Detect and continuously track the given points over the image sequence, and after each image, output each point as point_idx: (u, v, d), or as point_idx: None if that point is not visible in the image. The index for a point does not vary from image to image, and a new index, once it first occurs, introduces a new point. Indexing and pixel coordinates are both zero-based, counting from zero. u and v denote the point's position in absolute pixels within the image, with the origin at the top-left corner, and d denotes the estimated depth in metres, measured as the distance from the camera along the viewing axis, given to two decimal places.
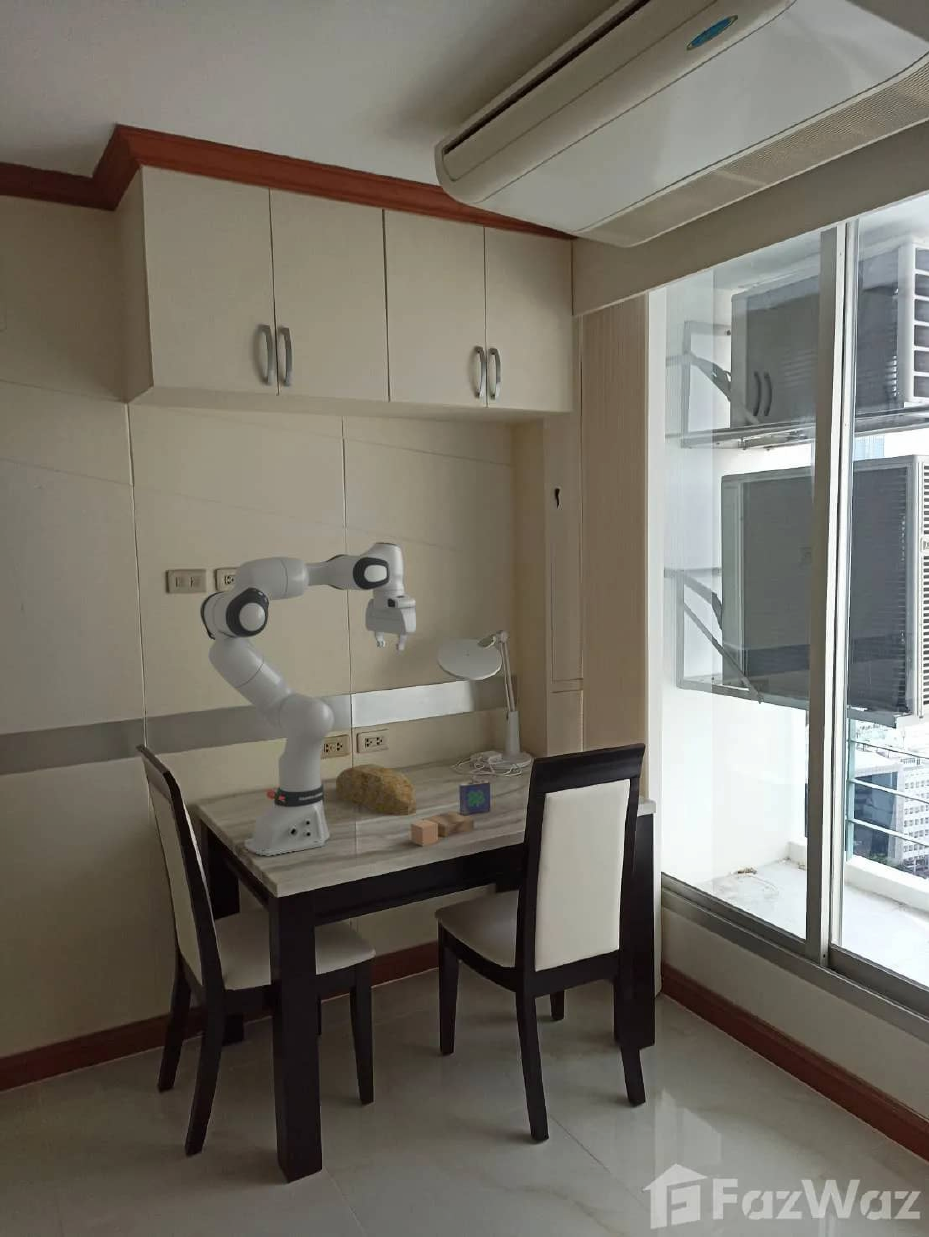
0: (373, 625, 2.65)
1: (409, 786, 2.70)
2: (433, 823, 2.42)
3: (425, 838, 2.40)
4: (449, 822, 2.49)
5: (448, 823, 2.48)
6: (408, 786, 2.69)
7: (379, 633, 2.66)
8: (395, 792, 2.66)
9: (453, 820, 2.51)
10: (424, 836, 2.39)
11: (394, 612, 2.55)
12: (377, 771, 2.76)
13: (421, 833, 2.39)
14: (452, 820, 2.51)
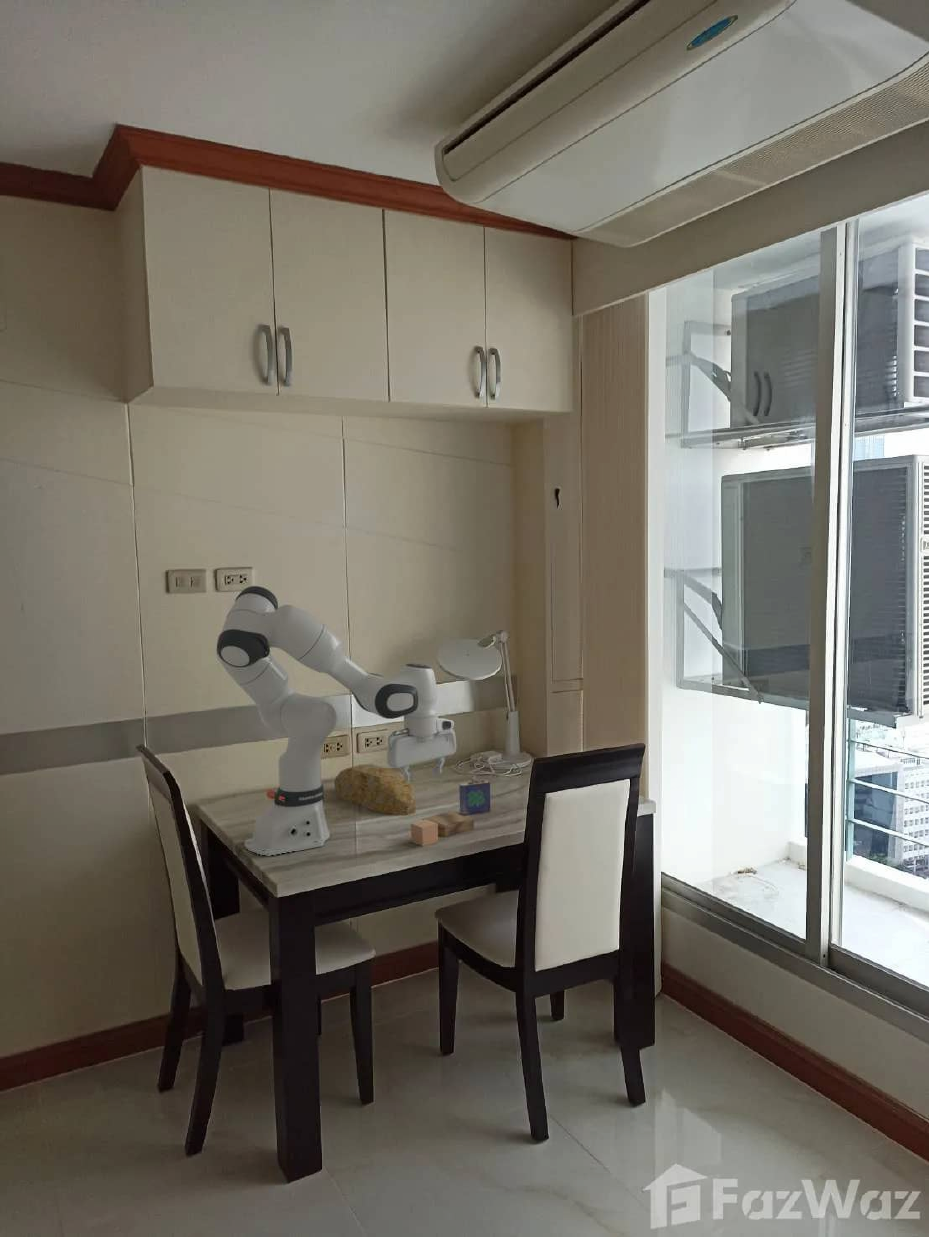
0: (408, 758, 2.35)
1: (408, 786, 2.70)
2: (433, 823, 2.42)
3: (425, 838, 2.40)
4: (449, 822, 2.49)
5: (448, 823, 2.48)
6: (407, 786, 2.70)
7: None
8: (394, 792, 2.66)
9: (453, 820, 2.51)
10: (423, 836, 2.39)
11: (446, 733, 2.42)
12: (376, 771, 2.76)
13: (421, 833, 2.39)
14: (452, 820, 2.51)
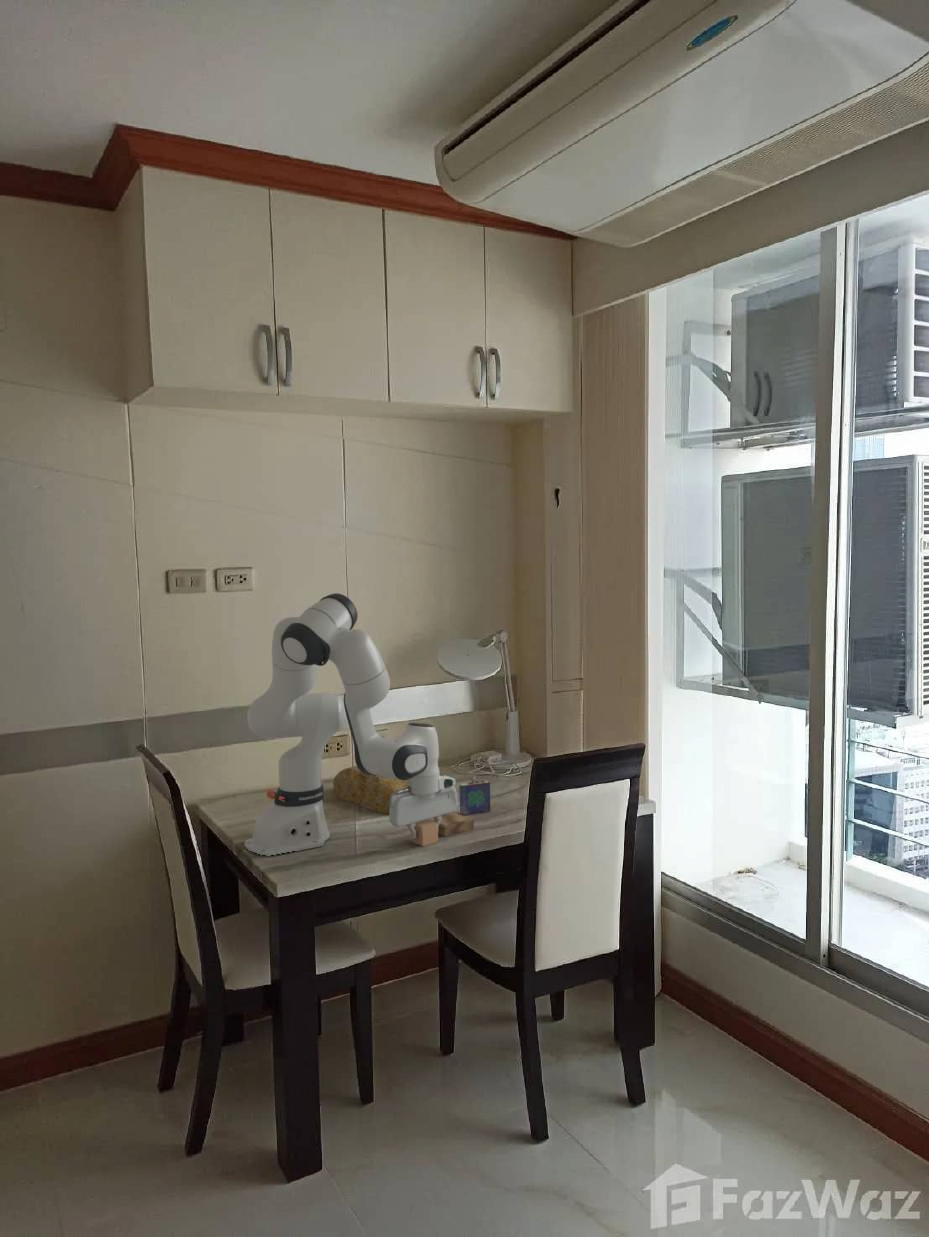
0: (410, 817, 2.37)
1: None
2: (433, 823, 2.42)
3: (425, 837, 2.40)
4: (449, 822, 2.49)
5: (448, 823, 2.48)
6: None
7: None
8: None
9: (453, 820, 2.51)
10: (424, 836, 2.39)
11: (447, 791, 2.44)
12: None
13: (421, 833, 2.39)
14: (452, 820, 2.51)
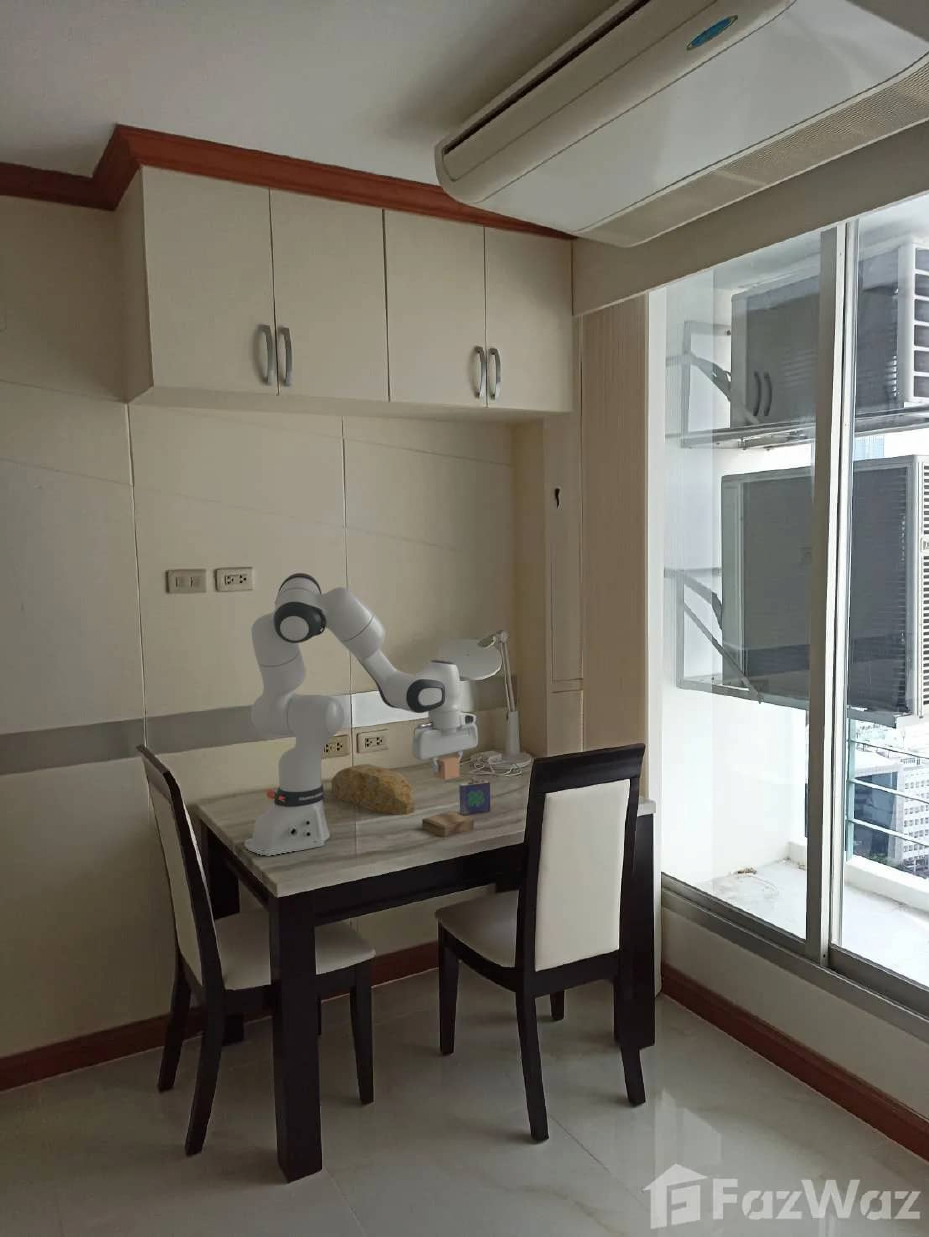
0: (433, 751, 2.45)
1: (407, 786, 2.70)
2: (454, 758, 2.50)
3: (447, 772, 2.48)
4: (449, 822, 2.49)
5: (448, 823, 2.48)
6: (406, 785, 2.70)
7: None
8: (394, 792, 2.66)
9: (453, 820, 2.51)
10: (446, 770, 2.48)
11: (468, 727, 2.52)
12: (374, 771, 2.77)
13: (443, 767, 2.48)
14: (452, 820, 2.51)
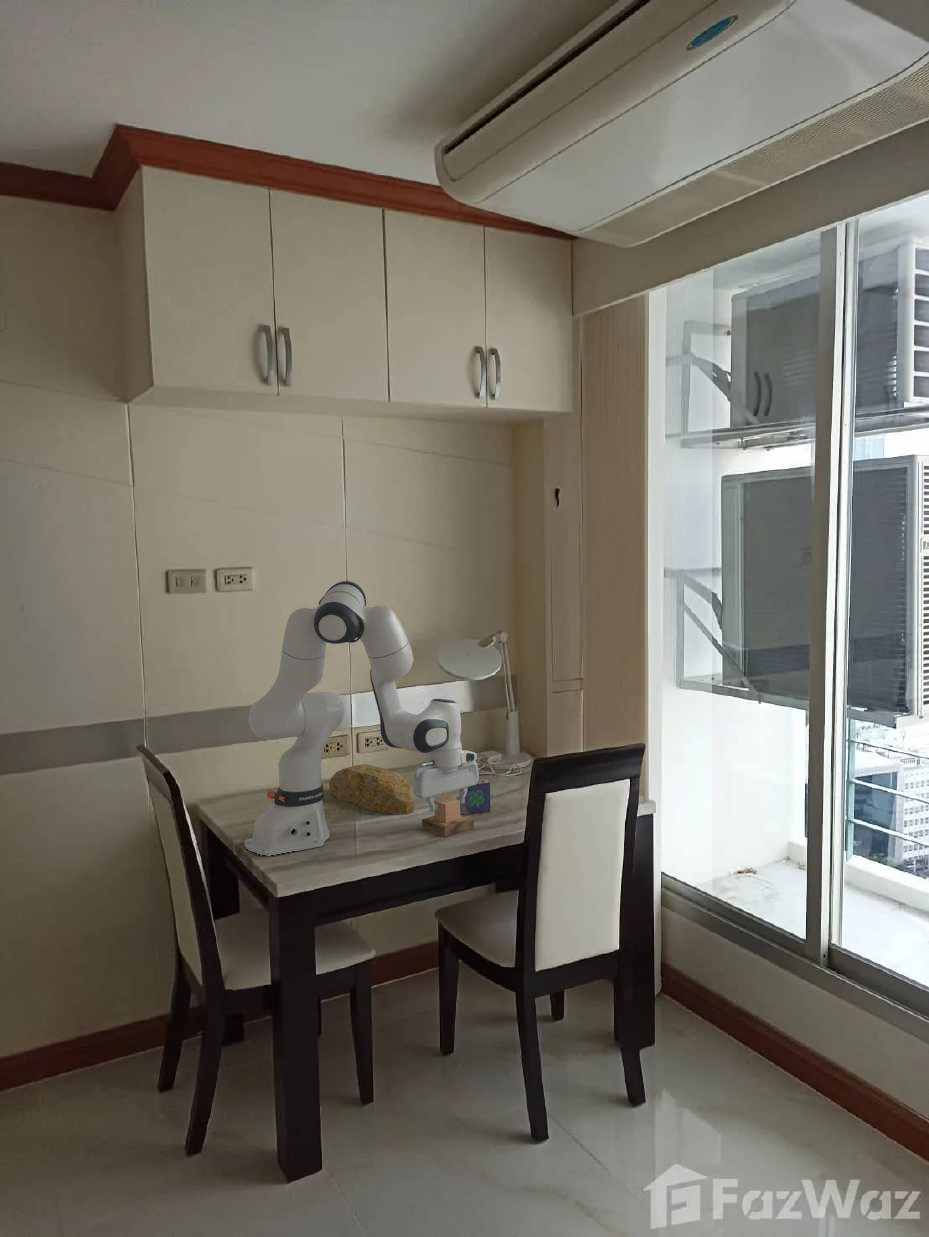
0: (434, 789, 2.47)
1: (407, 785, 2.70)
2: (455, 800, 2.52)
3: (448, 814, 2.49)
4: (449, 822, 2.49)
5: (448, 823, 2.48)
6: (406, 785, 2.70)
7: None
8: (393, 792, 2.66)
9: None
10: (447, 813, 2.49)
11: (469, 765, 2.53)
12: (373, 771, 2.77)
13: (444, 810, 2.49)
14: None
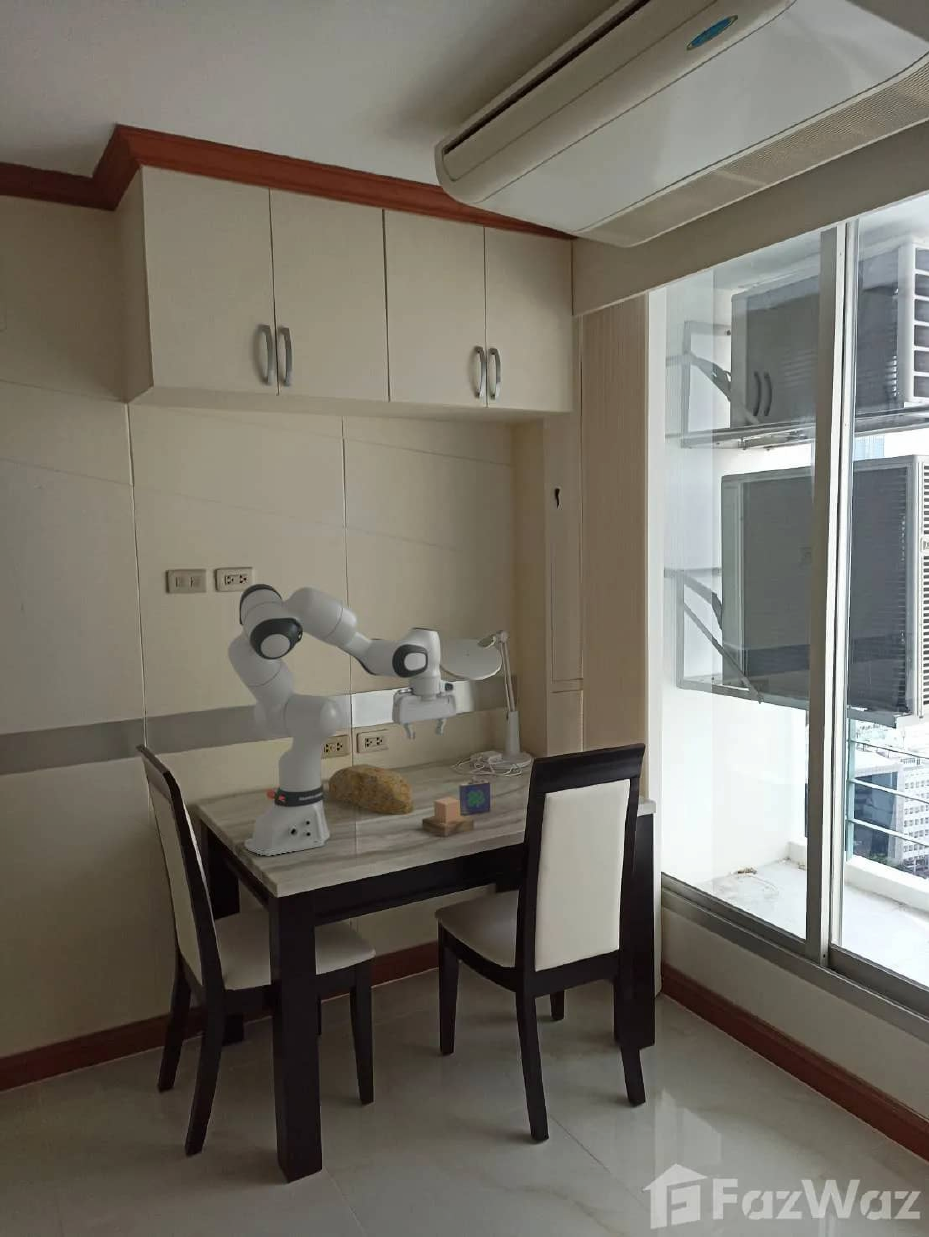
0: (412, 716, 2.49)
1: (406, 785, 2.70)
2: (455, 800, 2.52)
3: (448, 814, 2.49)
4: (449, 822, 2.49)
5: (448, 823, 2.48)
6: (405, 785, 2.70)
7: None
8: (393, 792, 2.66)
9: None
10: (447, 813, 2.49)
11: (448, 695, 2.55)
12: (372, 771, 2.77)
13: (444, 810, 2.49)
14: None
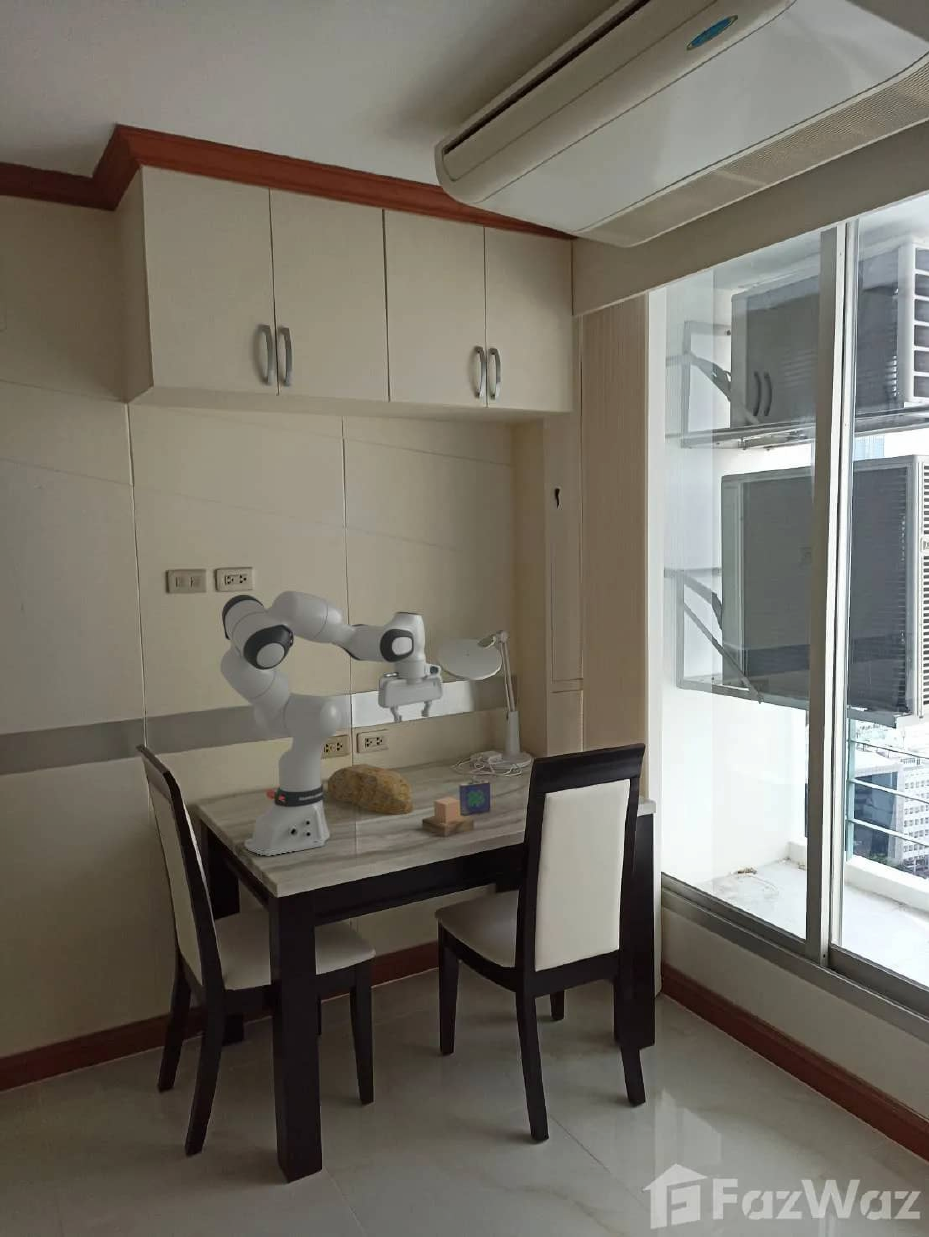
0: (398, 700, 2.51)
1: (405, 785, 2.70)
2: (455, 800, 2.52)
3: (448, 814, 2.49)
4: (449, 822, 2.49)
5: (448, 823, 2.48)
6: (404, 785, 2.70)
7: None
8: (392, 792, 2.66)
9: None
10: (447, 813, 2.49)
11: (433, 678, 2.57)
12: (372, 771, 2.77)
13: (444, 810, 2.49)
14: None
